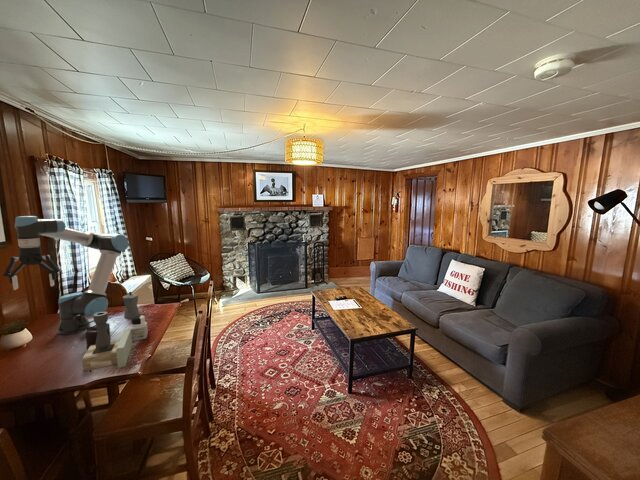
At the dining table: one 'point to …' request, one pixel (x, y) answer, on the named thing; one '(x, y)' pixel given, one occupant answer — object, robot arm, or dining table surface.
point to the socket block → (100, 357)
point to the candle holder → (102, 332)
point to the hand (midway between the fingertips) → (34, 287)
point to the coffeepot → (131, 305)
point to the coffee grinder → (90, 331)
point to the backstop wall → (124, 348)
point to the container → (139, 328)
